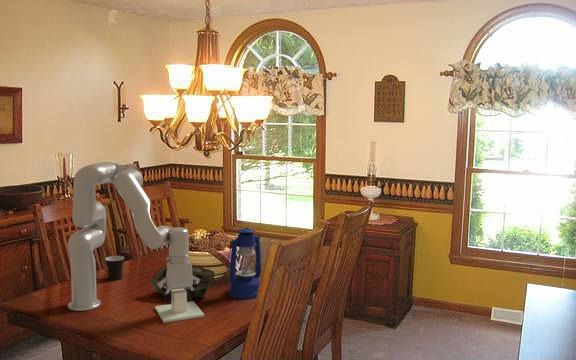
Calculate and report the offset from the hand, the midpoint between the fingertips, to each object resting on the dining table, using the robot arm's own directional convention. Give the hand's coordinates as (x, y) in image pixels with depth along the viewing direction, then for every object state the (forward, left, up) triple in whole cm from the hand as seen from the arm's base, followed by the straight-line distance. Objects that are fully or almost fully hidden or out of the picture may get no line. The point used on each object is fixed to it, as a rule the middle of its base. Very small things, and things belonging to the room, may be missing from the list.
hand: (179, 300), depth 212 cm
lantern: (-12, +33, -5) cm, 35 cm away
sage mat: (0, 0, -5) cm, 5 cm away
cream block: (0, 0, -4) cm, 4 cm away
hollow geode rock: (-18, +7, -5) cm, 20 cm away
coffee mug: (-56, -17, -5) cm, 59 cm away
